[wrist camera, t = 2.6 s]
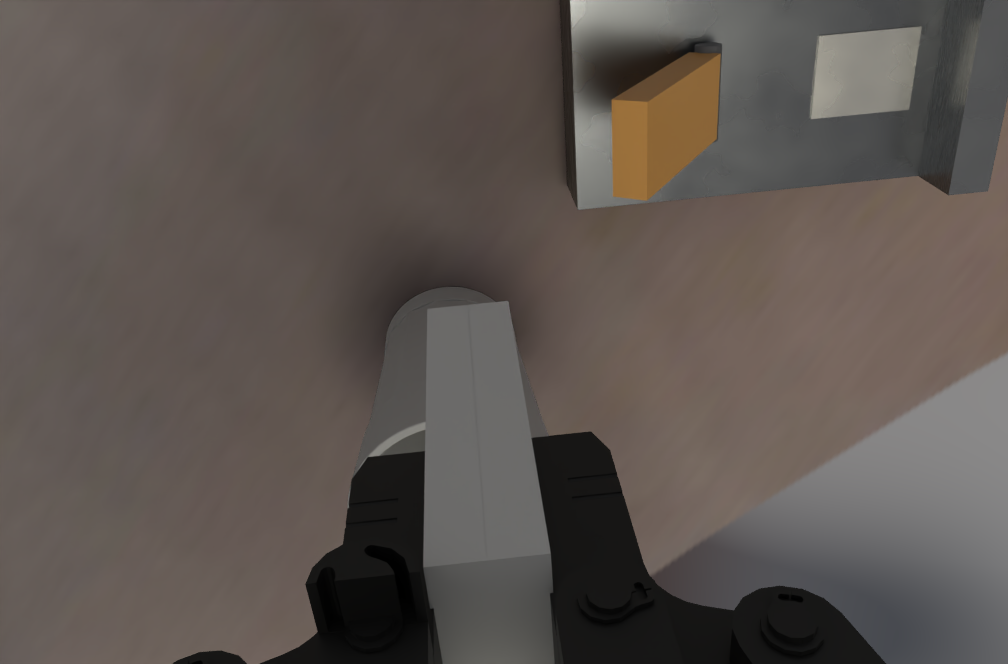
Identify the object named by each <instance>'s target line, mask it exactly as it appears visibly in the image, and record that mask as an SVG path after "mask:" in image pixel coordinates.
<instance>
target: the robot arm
mask: <svg viewBox="0 0 1008 664" xmlns="http://www.w3.org/2000/svg"><path fill="white" fill-rule="evenodd" d="M306 588H307V592H308V596H309V600H310V604H311V607H312V611H313V615H314V619H315V623H316V627H317V630H318V632H317V633H316V634H315V635H314V636H313V637H312V638H311V639H309V640H308V641H306V642H305V643H304V644H302V645H301V646H300V647H298V648H296V649H294V650H291V651H289V652H287V653H285V654H283V655H281V656H278V657H276V658H273V659H270V660H268V661H265V662H263V663H260V664H886V663H885V662H884V661H883V660H882V659H881V657H880V656H879V655H878V654H877V653H876V652H875V651H874V649H872V647H871V646H870V645H869V644H868V643H867V641H866V640H865V639H864V638H863V637H862V636H861V635H860V634H859V632H858V631H857V630H856V629H855V628H854V627H853V626H852V625H851V623H850V622H849V621H848V620H847V619H846V618H845V616H844V615H843V614H842V613H841V612H840V611H838V610H837V609H836V608H835V607H834V606H832V605H831V604H830V603H829V602H828V601H826V600H825V599H824V598H822V597H819V596H817V595H815V594H813V593H810V592H808V591H806V590H803V589H798V588H791V587H785V586H775V587H768V588H761V589H758V590H756V591H754V592H752V593H751V594H749V595H747V596H745V597H743V598H742V600H741V601H740V603H739V604H738V606H737V607H736V608H735V610H734V611H733V610H726V609H720V608H714V607H707V606H701V605H697V604H693V603H689V602H686V601H683V600H681V599H679V598H677V597H675V596H672V595H671V594H669V593H668V592H666V591H665V590H664V589H662V588H661V587H659V586H658V585H657V584H656V583H655V581H654V580H653V579H652V578H651V577H650V576H649V574H648V572H647V570H646V567H645V565H644V563H643V559H642V556H641V553H640V549H639V546H638V543H637V539H636V536H635V533H634V529H633V526H632V523H631V519H630V516H629V512H628V509H627V506H626V502H625V499H624V496H623V494H622V489H621V486H620V482H619V479H618V477H617V472H616V469H615V465H614V462H613V459H612V455H611V452H610V450H609V449H608V448H607V447H606V446H605V445H604V444H603V443H602V442H601V441H600V440H599V439H598V438H597V437H596V436H595V435H594V434H593V433H592V432H582V433H572V434H563V435H553V436H544V437H534V438H531V433H530V427H529V421H528V415H527V409H526V403H525V397H524V391H523V385H522V379H521V373H520V367H519V361H518V355H517V349H516V343H515V337H514V332H513V326H512V320H511V314H510V308H509V302H508V301H501V302H491V303H481V304H471V305H461V306H451V307H441V308H432V309H427V359H426V422H425V451H421V452H411V453H402V454H392V455H383V456H373V457H367V459H366V460H365V462H364V463H363V464H362V466H361V467H360V469H359V470H358V471H357V473H356V474H355V476H354V477H353V478H352V481H351V489H350V496H349V508H348V511H347V519H346V528H345V534H344V541H343V545H341V546H340V547H338V548H336V549H334V550H332V551H330V552H329V553H327V554H326V555H325V556H324V557H323V558H322V559H321V560H320V561H319V562H318V563H317V564H316V565H315V566H314V567H313V568H312V570H311V572H310V575H309V577H308V579H307V582H306ZM173 664H247V663H246V662H245V661H244V660H243V659H242V658H241V657H240V656H238V655H234V654H231V653H227V652H224V651H209V652H199V653H196V654H193V655H191V656H188V657H185V658H183V659H180V660H177V661H176V662H174V663H173Z"/></svg>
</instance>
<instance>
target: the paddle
mask: <svg viewBox="0 0 1008 664" xmlns="http://www.w3.org/2000/svg"><path fill="white" fill-rule="evenodd" d="M721 63H722V44H721V43H717V42H705V43H699V44H696V45H695V52H689V53H687V54H685V55H684V56H682V57H681V58H679V59H677V60H676V61H674V62H672V63H671V64H669V65H667V66H666V67H664V68H663V69H661V70H659V71H658V72H656V73H654V74H653V75H651V76H649V77H648V78H646V79H645V80H643V81H641V82H640V83H638V84H636V85H635V86H633V87H631V88H630V89H628V90H627V91H625V92H623V93H622V94H620V95H618V96H617V97H615V98H613V99H612V165H613V197H621V198H629V199H637V200H645V201H647V200H648V199H650V198H651V197H652V196H653V195H654V194H655V193H656V192H657V191H659V190H660V189H661V188H662V187H663V186H664V185H665V184H666V183H668V182H669V181H670V180H671V179H672V178H673V177H674V176H675V175H677V174H678V173H679V172H680V171H681V170H682V169H683V168H685V167H686V166H687V165H688V164H689V163H690V162H691V161H692V160H694V159H695V158H696V157H697V156H698V155H699V154H700V153H701V152H703V151H704V150H705V149H706V148H707V147H708V146H709V145H710V144H712V143H714V142H716V141H718V128H719V106H720V85H721Z"/></svg>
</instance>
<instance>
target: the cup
mask: <svg viewBox="0 0 1008 664" xmlns="http://www.w3.org/2000/svg"><path fill="white" fill-rule="evenodd" d="M491 302H495V301H494V300H493V299H491V298H490V297H488V296H486V295H485V294H483V293H480V292H478V291H475V290H472V289H468V288H463V287H441V288H435V289H431V290H428V291H425V292H423V293H420V294H418V295H417V296H415V297H413V298H412V299H410V300H409V301H407V302H406V303H405V304H404V305H403V306H402V307H401V308H400V309H399V310H398V311H397V313H396V314H395V315H394V317H393V319H392V320H391V322H390V325H389V327H388V330H387V334H386V342H385V354H384V363H383V367H382V371H381V375H380V380H379V384H378V388H377V392H376V397H375V401H374V405H373V409H372V414H371V418H370V422H369V425H368V427H367V429H366V431H365V434H364V437H363V441H362V445H361V449H360V452H359V456H358V460H357V463H356V467H355V471H354V475H353V477H354V476H355V474H356V473H357V471H358V470H359V469H360V467H361V466H362V464H363V463H364V462H365V460H366V459H367V457H373V456H383V455H392V454H402V453H411V452H421V451H425V422H426V359H427V309H432V308H441V307H451V306H461V305H471V304H481V303H491ZM512 326H513V325H512ZM513 332H514V337H515V343H516V349H517V355H518V361H519V367H520V373H521V379H522V385H523V391H524V397H525V403H526V409H527V415H528V421H529V427H530V433H531V438H534V437H544V436H549V435H548V432H547V430H546V427H545V425H544V422H543V420H542V417H541V414H540V411H539V408H538V405H537V402H536V399H535V396H534V393H533V391H532V388H531V385H530V382H529V379H528V376H527V373H526V370H525V367H524V364H523V361H522V358H521V355H520V352H519V349H518V346H517V342H516V336H515V331H514V327H513ZM350 489H351V486H350ZM349 496H350V490H349V495H348V508H349Z"/></svg>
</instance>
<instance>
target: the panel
mask: <svg viewBox="0 0 1008 664" xmlns="http://www.w3.org/2000/svg"><path fill="white" fill-rule="evenodd" d="M560 18H561V42H562V66H563V90H564V114H565V138H566V162H567V186H568V188H569V191H570V193H571V195H572V198H573V200H574V202H575V204H576V207H577V209H578V210H582V209H592V208H602V207H612V206H622V205H632V204H642V203H651V202H661V201H671V200H681V199H691V198H701V197H711V196H721V195H731V194H741V193H751V192H761V191H771V190H781V189H791V188H801V187H811V186H821V185H831V184H841V183H850V182H860V181H870V180H880V179H890V178H900V177H910V176H919V177H921V178H922V179H924V180H925V181H927V182H929V183H930V184H932V185H933V186H935V187H936V188H938V189H940V190H941V191H943V192H944V193H946V194H947V195H955V194H965V193H974V192H984V191H988V188H989V184H990V179H991V174H992V169H993V165H994V160H995V155H996V150H997V145H998V141H999V136H1000V131H1001V126H1002V122H1003V117H1004V112H1005V107H1006V102H1007V98H1008V0H560ZM705 42H717V43H721V44H722V63H721V85H720V106H719V128H718V141H716V142H714V143H712V144H710V145H709V146H708V147H707V148H706V149H705V150H704V151H703V152H701V153H700V154H699V155H698V156H697V157H696V158H695V159H694V160H692V161H691V162H690V163H689V164H688V165H687V166H686V167H685V168H683V169H682V170H681V171H680V172H679V173H678V174H677V175H675V176H674V177H673V178H672V179H671V180H670V181H669V182H668V183H666V184H665V185H664V186H663V187H662V188H661V189H660V190H659V191H657V192H656V193H655V194H654V195H653V196H652V197H651V198H650V199H648V200H647V201H645V200H637V199H629V198H621V197H613V165H612V99H613V98H615V97H617V96H618V95H620V94H622V93H623V92H625V91H627V90H628V89H630V88H631V87H633V86H635V85H636V84H638V83H640V82H641V81H643V80H645V79H646V78H648V77H649V76H651V75H653V74H654V73H656V72H658V71H659V70H661V69H663V68H664V67H666V66H667V65H669V64H671V63H672V62H674V61H676V60H677V59H679V58H681V57H682V56H684V55H685V54H687V53H689V52H695V45H696V44H699V43H705Z"/></svg>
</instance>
